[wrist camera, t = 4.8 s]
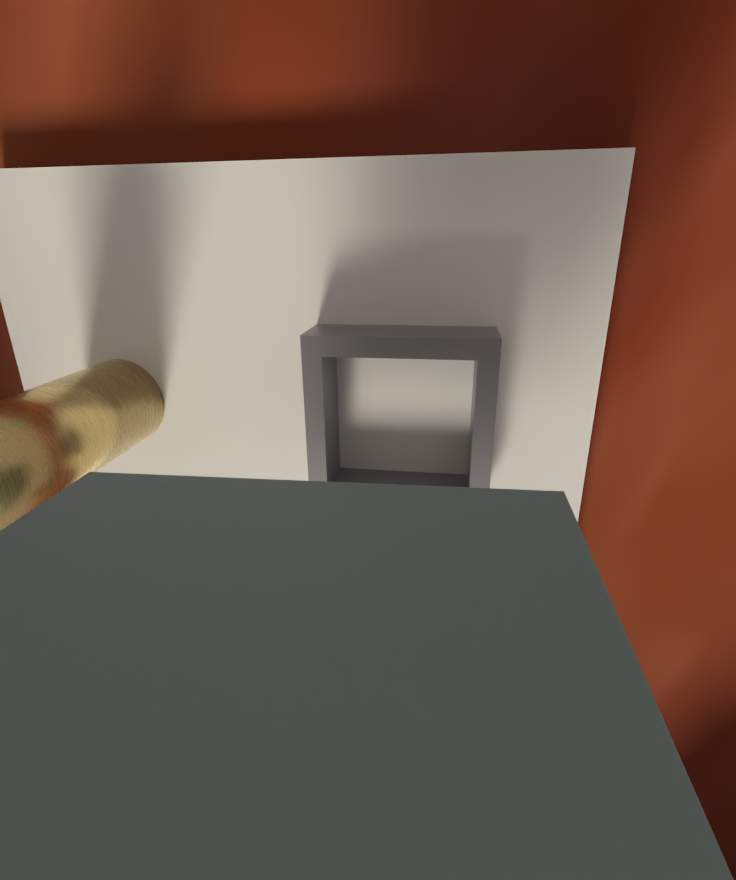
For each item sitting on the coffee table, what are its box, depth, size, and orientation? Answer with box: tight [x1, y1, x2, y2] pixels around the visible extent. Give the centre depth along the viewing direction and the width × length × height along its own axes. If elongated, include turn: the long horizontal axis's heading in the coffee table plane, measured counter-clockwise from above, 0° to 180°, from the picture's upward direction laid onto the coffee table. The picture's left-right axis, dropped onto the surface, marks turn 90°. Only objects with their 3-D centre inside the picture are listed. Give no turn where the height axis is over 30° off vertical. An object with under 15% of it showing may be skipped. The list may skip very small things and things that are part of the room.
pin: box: [0, 359, 165, 531], centre depth 15 cm, size 3×3×8 cm
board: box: [0, 147, 636, 522], centre depth 18 cm, size 20×15×4 cm
